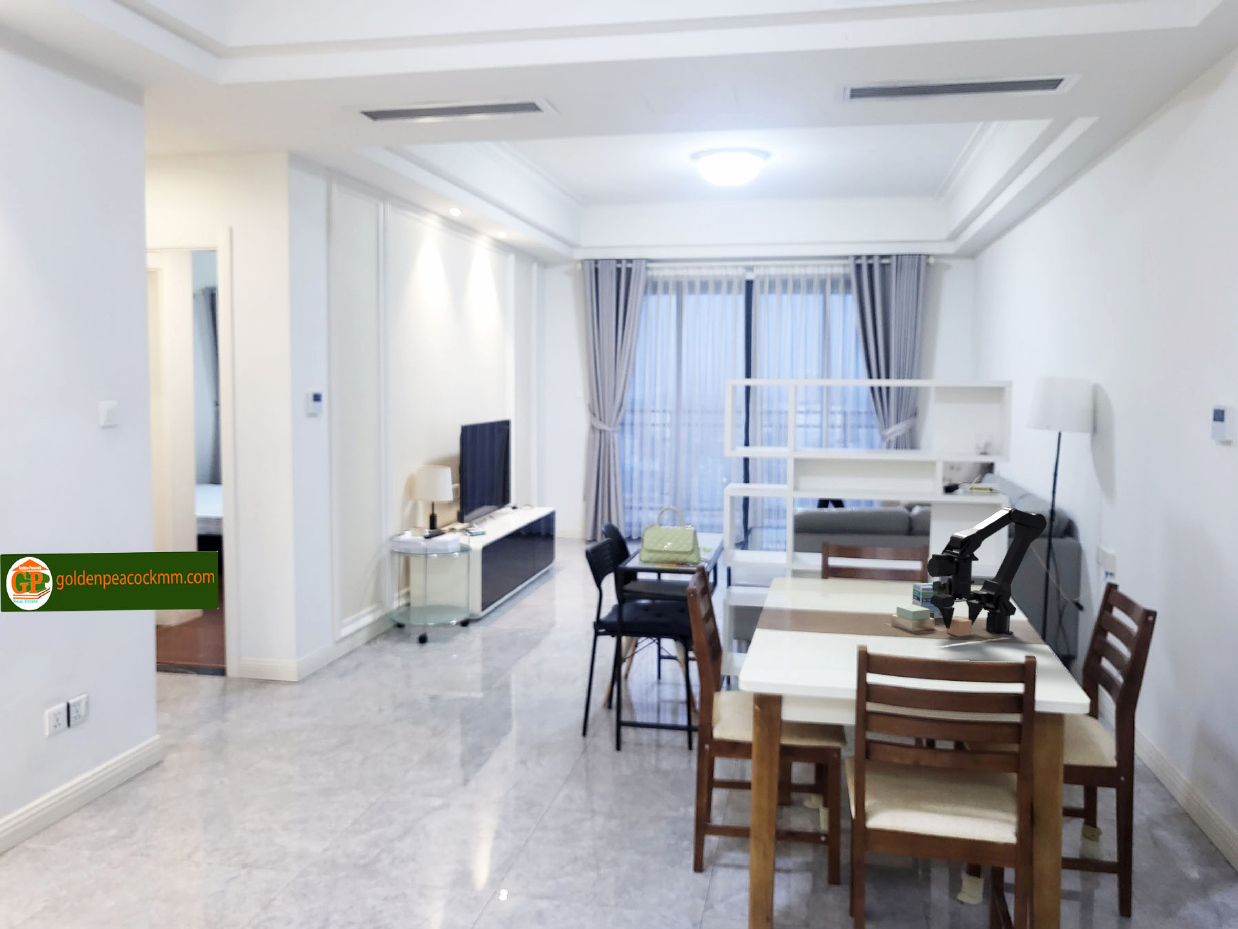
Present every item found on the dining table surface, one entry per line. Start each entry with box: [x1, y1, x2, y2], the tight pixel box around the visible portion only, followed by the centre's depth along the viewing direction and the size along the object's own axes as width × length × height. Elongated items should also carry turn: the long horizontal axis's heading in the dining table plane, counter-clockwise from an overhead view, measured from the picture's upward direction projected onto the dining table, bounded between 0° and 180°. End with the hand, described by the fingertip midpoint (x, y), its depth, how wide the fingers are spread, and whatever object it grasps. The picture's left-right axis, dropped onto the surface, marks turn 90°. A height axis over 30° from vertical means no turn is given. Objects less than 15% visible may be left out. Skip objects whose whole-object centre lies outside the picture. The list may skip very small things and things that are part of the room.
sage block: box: [895, 604, 930, 620], centre depth 298 cm, size 7×7×3 cm
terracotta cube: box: [945, 616, 973, 637], centre depth 290 cm, size 5×5×5 cm
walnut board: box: [885, 621, 946, 636], centre depth 298 cm, size 17×14×1 cm
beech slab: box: [890, 614, 936, 631], centre depth 298 cm, size 9×9×3 cm
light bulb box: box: [911, 582, 951, 619], centre depth 313 cm, size 11×7×11 cm, turn 99°
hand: (959, 627), depth 290 cm, fingers open, 9 cm apart
